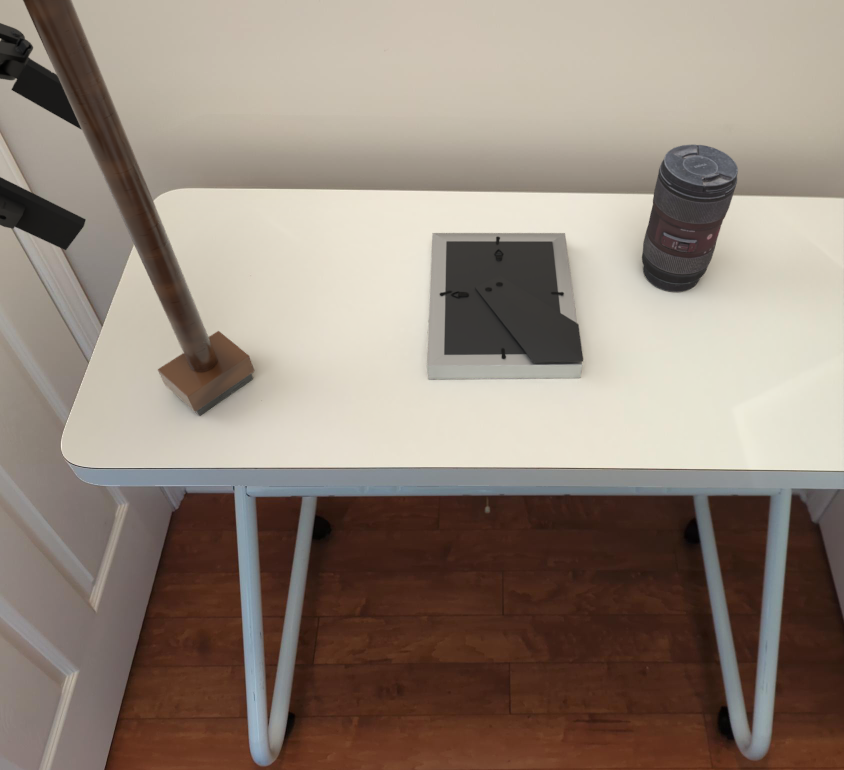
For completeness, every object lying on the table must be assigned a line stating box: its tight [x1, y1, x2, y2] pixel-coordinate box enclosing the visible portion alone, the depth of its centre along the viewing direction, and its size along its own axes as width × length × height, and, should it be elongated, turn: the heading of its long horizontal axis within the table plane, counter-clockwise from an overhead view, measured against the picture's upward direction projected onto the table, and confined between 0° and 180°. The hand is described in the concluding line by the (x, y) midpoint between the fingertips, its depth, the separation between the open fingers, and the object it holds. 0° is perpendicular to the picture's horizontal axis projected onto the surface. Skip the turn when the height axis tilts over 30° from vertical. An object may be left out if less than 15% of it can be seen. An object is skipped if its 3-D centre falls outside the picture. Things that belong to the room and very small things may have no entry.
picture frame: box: [426, 232, 584, 380], centre depth 83 cm, size 16×3×21 cm
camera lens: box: [641, 143, 739, 293], centre depth 83 cm, size 8×8×15 cm
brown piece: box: [22, 0, 255, 417], centre depth 60 cm, size 7×5×40 cm
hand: (94, 176), depth 56 cm, fingers open, 13 cm apart
